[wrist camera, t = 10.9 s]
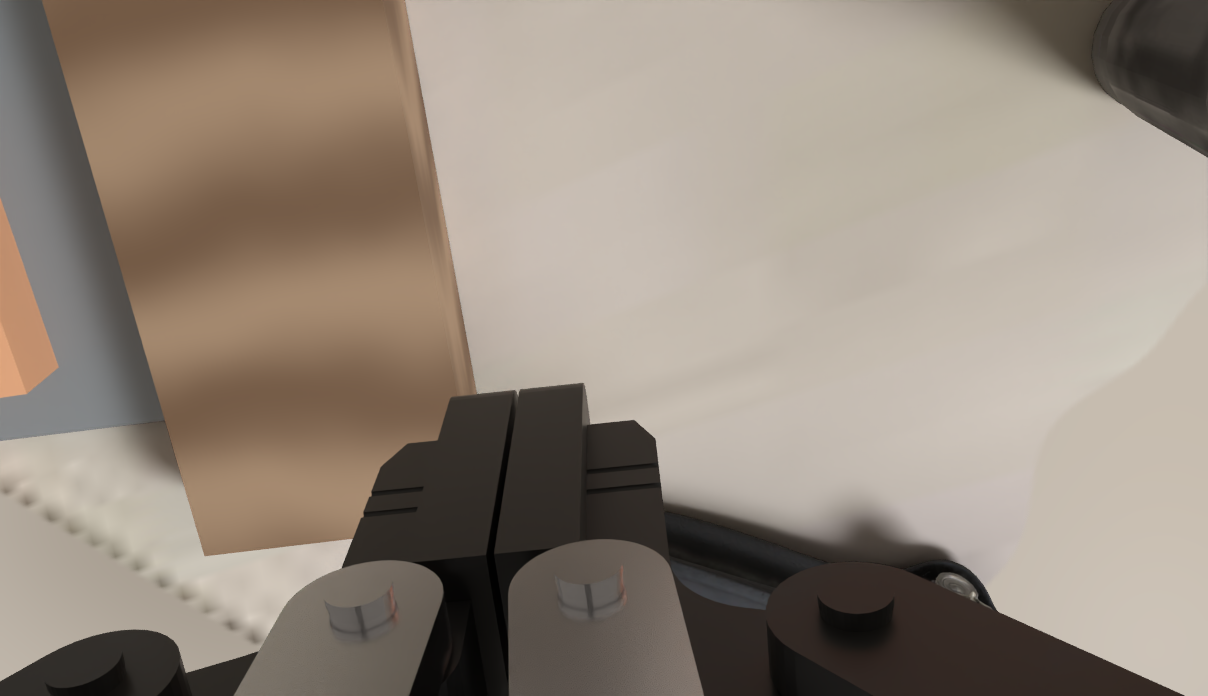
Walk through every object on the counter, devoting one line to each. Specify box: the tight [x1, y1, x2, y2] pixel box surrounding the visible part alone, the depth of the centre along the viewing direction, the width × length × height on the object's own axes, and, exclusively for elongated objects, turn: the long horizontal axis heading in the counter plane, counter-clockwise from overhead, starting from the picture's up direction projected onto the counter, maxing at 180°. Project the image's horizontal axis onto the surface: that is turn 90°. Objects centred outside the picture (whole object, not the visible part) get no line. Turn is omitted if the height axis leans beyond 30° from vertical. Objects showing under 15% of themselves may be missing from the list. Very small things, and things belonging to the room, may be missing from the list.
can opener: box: [664, 512, 998, 612], centre depth 43 cm, size 18×7×6 cm, turn 70°
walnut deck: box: [42, 0, 477, 556], centre depth 38 cm, size 24×10×4 cm, turn 7°
